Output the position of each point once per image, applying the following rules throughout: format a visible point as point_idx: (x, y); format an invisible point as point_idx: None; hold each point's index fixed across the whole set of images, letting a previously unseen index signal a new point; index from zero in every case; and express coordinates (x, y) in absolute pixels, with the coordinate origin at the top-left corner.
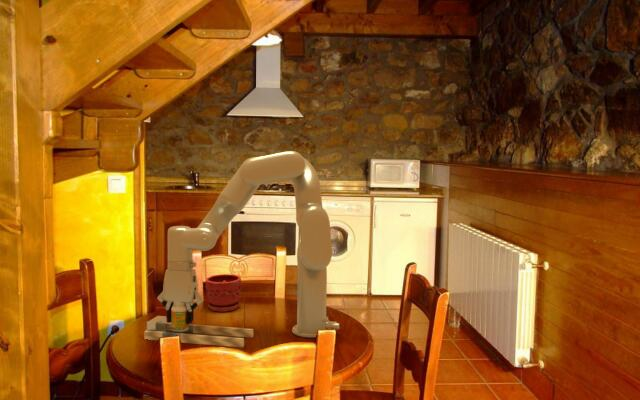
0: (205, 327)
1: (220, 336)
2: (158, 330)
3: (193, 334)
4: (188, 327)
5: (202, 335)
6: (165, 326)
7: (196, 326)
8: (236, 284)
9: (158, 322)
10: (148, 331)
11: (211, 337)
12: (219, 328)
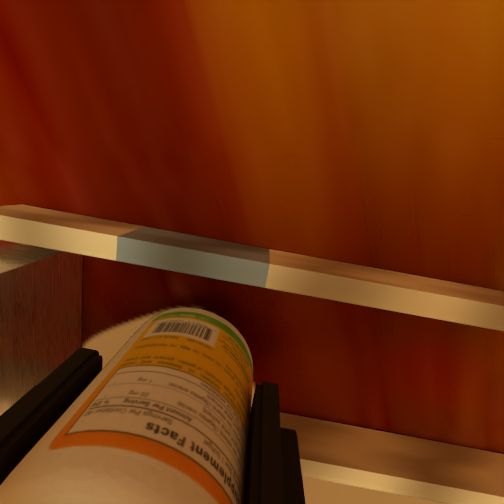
0: (368, 303)
1: (502, 498)
2: (53, 363)
3: (315, 465)
4: (252, 378)
5: (378, 481)
6: (54, 270)
7: (293, 289)
8: None
9: (1, 404)
10: None
11: (438, 497)
12: (486, 325)
